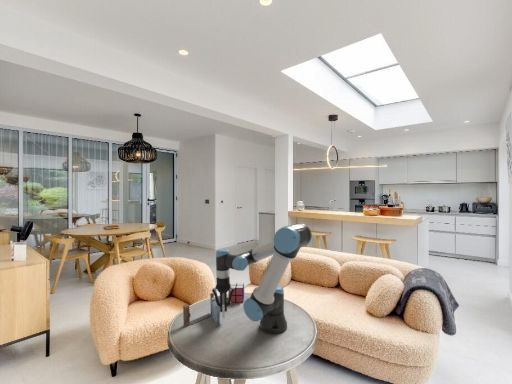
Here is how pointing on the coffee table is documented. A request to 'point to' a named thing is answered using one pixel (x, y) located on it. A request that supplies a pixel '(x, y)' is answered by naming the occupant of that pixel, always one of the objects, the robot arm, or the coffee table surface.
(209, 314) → the latch line mat
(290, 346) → the coffee table surface
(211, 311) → the hinge post
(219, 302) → the fence panel
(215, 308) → the gate
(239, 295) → the puzzle cube
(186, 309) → the post
